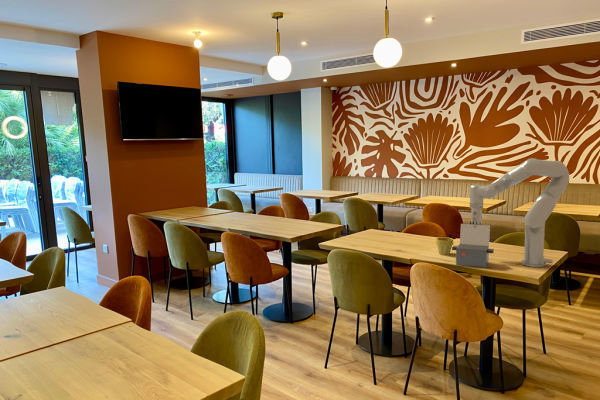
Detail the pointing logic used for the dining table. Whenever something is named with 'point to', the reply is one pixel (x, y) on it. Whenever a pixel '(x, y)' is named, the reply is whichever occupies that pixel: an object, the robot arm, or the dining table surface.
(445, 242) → the plant pot
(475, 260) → the cooker
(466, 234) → the lid
